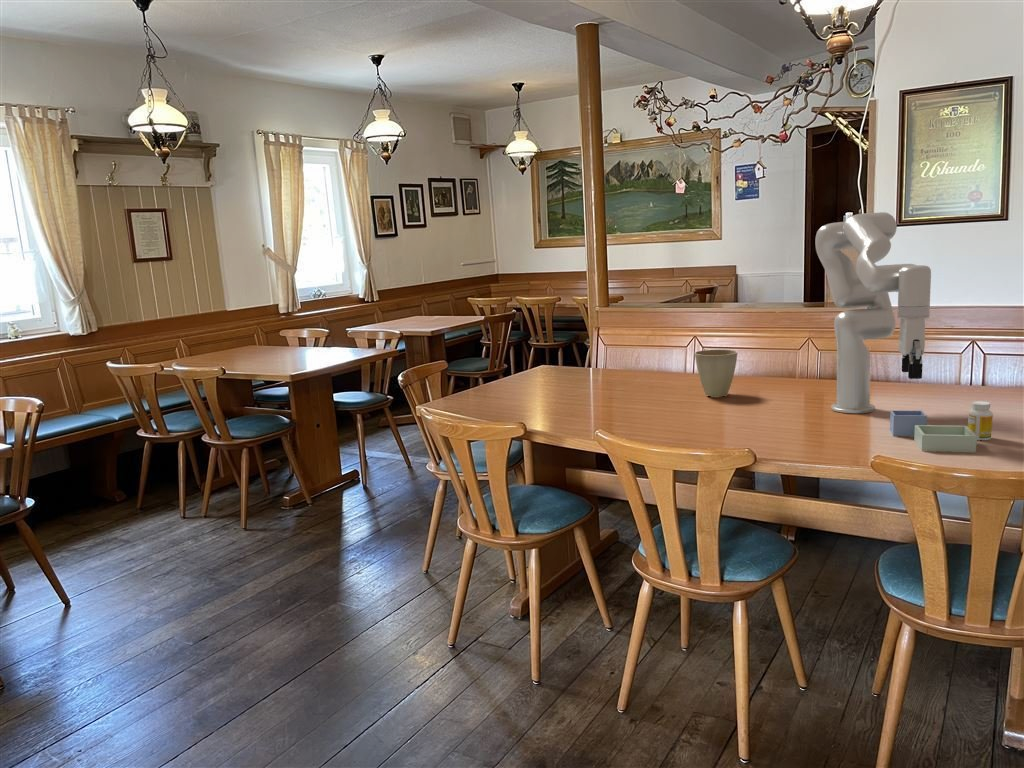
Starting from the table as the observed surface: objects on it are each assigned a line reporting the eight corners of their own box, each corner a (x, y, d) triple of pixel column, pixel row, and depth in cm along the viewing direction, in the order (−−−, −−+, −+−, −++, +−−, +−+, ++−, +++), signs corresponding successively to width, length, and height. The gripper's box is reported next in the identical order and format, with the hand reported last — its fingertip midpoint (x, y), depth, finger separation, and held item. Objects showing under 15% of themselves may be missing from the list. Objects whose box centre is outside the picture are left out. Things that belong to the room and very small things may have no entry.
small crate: (889, 431, 208) (890, 410, 207) (921, 431, 206) (922, 410, 204) (893, 436, 202) (893, 415, 201) (926, 437, 200) (926, 415, 199)
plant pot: (743, 398, 260) (742, 353, 258) (700, 401, 261) (699, 356, 258) (731, 390, 275) (731, 347, 272) (691, 392, 276) (690, 350, 273)
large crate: (914, 441, 197) (914, 425, 197) (965, 442, 194) (966, 425, 193) (921, 452, 188) (922, 435, 187) (975, 453, 184) (976, 436, 183)
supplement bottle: (965, 439, 195) (966, 403, 194) (969, 434, 199) (971, 399, 197) (988, 441, 192) (990, 405, 190) (993, 437, 195) (995, 401, 194)
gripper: (892, 309, 207) (890, 369, 210) (903, 316, 191) (901, 381, 194) (922, 308, 204) (920, 369, 208) (936, 315, 188) (934, 381, 191)
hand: (911, 375), depth 201 cm, fingers open, 9 cm apart
